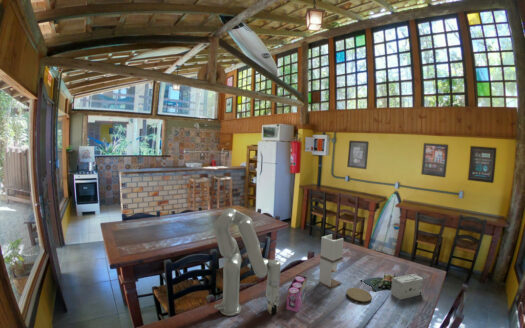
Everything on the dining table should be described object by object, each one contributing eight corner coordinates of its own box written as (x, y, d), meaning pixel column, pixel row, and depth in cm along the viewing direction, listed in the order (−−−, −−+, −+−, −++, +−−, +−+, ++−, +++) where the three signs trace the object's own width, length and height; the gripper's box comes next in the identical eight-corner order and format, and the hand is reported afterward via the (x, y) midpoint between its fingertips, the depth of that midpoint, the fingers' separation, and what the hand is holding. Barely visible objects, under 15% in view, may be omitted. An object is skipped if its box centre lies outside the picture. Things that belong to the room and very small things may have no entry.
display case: (331, 290, 189) (334, 241, 186) (318, 283, 197) (321, 237, 194) (340, 285, 196) (343, 238, 193) (328, 279, 204) (331, 234, 202)
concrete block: (412, 290, 193) (414, 263, 191) (423, 297, 185) (425, 268, 183) (390, 295, 185) (392, 267, 184) (400, 302, 177) (402, 272, 176)
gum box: (297, 313, 161) (298, 293, 160) (285, 310, 163) (286, 290, 163) (306, 295, 181) (307, 276, 180) (295, 292, 184) (296, 274, 183)
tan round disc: (355, 306, 171) (355, 302, 170) (341, 293, 186) (341, 289, 186) (376, 303, 175) (377, 299, 175) (361, 290, 190) (361, 286, 190)
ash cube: (270, 314, 159) (270, 306, 159) (267, 309, 163) (267, 302, 163) (277, 312, 161) (277, 305, 161) (274, 308, 165) (274, 301, 165)
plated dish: (389, 274, 219) (390, 265, 219) (420, 292, 193) (421, 282, 192) (353, 279, 207) (354, 270, 207) (381, 299, 181) (382, 289, 180)
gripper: (262, 275, 167) (261, 304, 168) (273, 289, 152) (272, 320, 153) (273, 273, 170) (272, 301, 171) (285, 287, 155) (284, 317, 156)
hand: (272, 310), depth 162 cm, fingers closed on ash cube, 4 cm apart
